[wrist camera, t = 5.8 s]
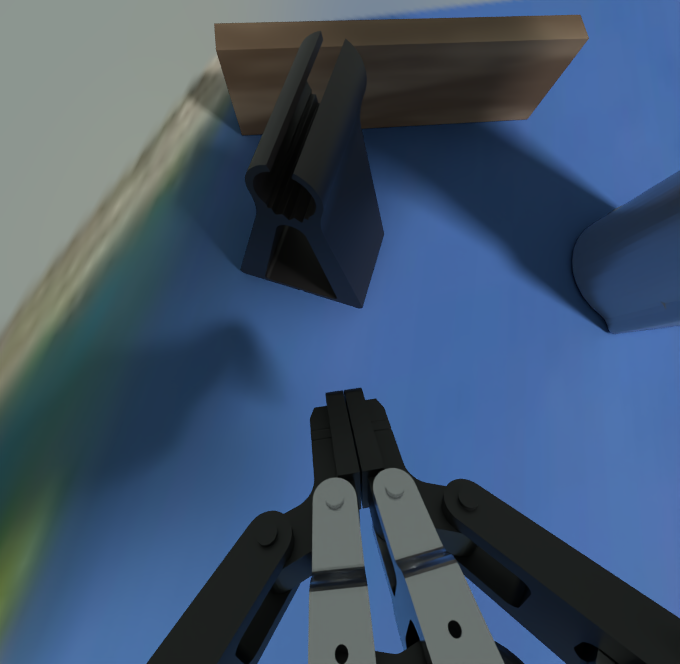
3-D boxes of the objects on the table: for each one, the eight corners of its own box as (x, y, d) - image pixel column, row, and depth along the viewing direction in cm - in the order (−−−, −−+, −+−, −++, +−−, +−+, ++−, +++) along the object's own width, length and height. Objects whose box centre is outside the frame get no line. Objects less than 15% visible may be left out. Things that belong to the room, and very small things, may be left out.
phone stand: (383, 237, 23) (451, 71, 11) (361, 309, 21) (411, 212, 10) (270, 201, 23) (215, -4, 11) (241, 272, 21) (145, 127, 10)
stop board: (527, 119, 26) (588, 38, 20) (242, 135, 23) (216, 50, 18) (521, 99, 26) (580, 15, 20) (240, 114, 24) (214, 23, 18)
